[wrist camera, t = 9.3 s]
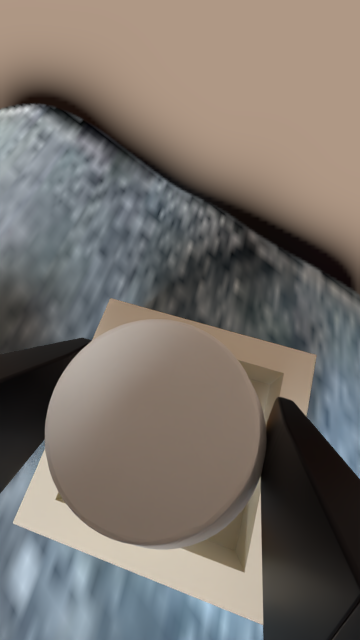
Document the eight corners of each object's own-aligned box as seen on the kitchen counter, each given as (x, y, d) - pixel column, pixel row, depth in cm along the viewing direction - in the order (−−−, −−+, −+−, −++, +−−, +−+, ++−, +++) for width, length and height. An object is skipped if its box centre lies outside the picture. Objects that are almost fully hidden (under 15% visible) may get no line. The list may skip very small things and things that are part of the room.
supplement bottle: (228, 377, 16) (275, 277, 7) (243, 503, 14) (337, 595, 5) (119, 385, 16) (23, 294, 7) (117, 510, 14) (-25, 614, 5)
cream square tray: (253, 587, 14) (271, 628, 11) (50, 508, 15) (12, 523, 12) (293, 373, 17) (316, 355, 14) (124, 324, 19) (110, 298, 16)
